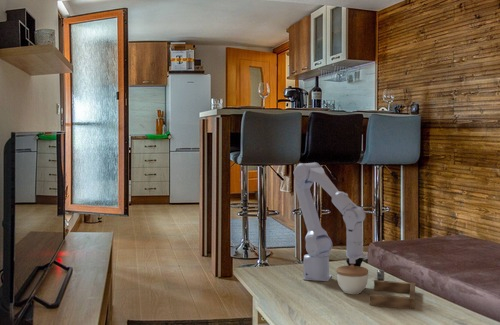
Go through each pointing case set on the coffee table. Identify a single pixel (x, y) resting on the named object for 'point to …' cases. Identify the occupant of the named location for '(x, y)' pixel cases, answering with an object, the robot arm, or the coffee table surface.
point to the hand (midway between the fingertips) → (355, 278)
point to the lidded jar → (352, 278)
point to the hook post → (380, 275)
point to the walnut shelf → (394, 300)
